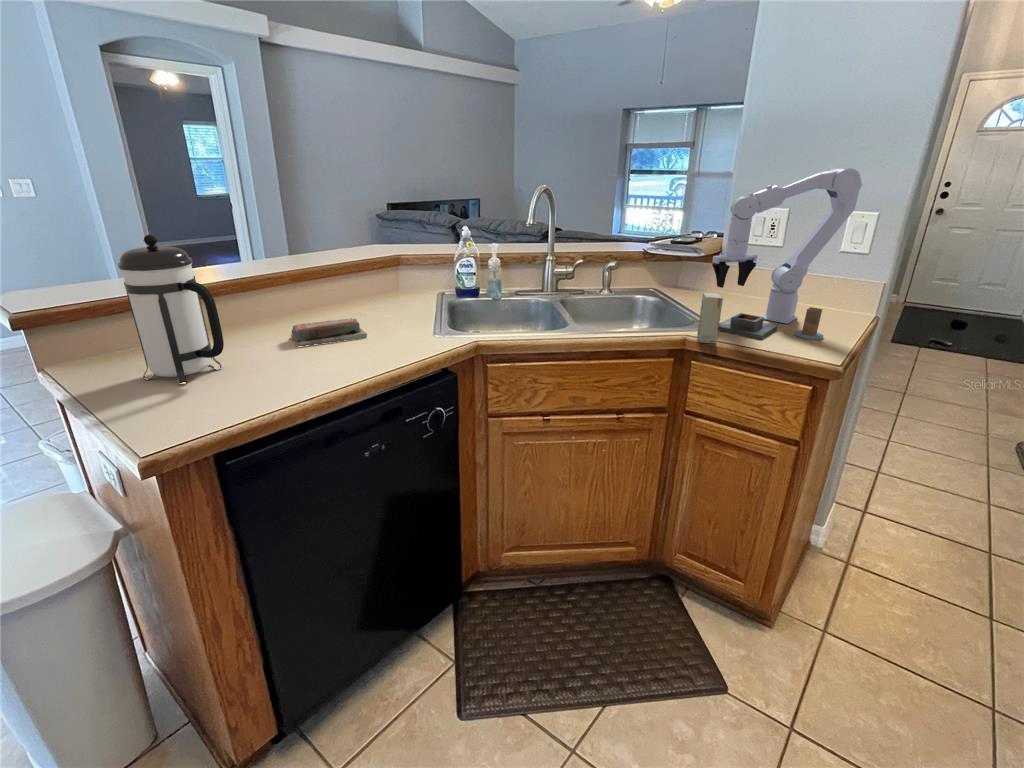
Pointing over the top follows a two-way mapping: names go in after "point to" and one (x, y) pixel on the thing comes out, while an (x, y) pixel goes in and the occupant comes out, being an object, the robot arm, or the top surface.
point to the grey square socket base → (747, 326)
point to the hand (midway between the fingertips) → (730, 286)
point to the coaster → (800, 335)
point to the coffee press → (170, 310)
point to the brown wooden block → (811, 321)
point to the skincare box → (709, 317)
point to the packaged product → (327, 332)
